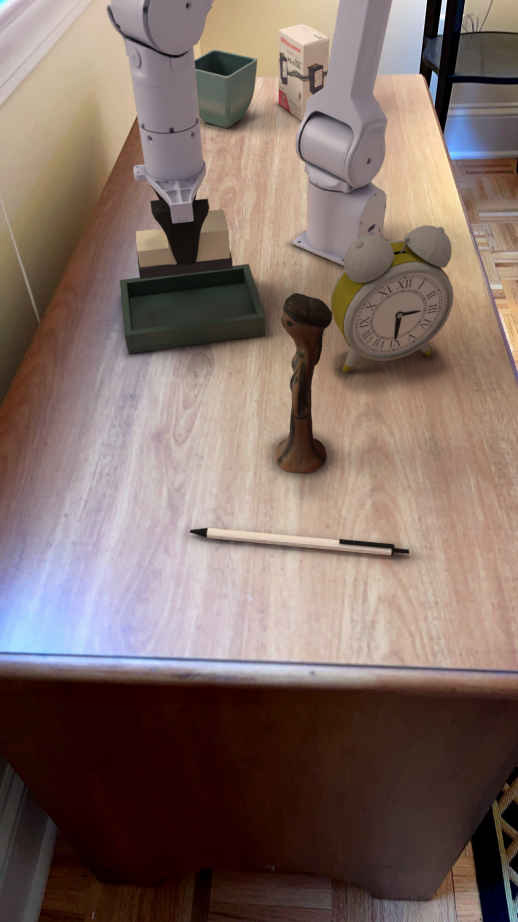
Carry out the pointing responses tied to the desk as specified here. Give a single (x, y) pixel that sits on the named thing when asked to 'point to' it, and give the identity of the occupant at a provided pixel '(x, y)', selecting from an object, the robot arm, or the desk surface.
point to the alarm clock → (393, 294)
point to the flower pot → (224, 86)
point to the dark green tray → (191, 309)
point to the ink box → (301, 66)
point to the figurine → (303, 382)
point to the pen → (300, 541)
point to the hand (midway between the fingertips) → (184, 249)
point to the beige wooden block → (211, 251)
